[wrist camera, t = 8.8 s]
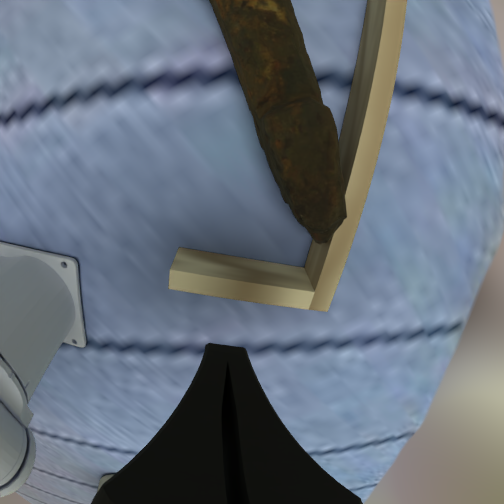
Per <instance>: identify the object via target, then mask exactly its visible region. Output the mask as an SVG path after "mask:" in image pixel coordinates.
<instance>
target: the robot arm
mask: <svg viewBox="0 0 504 504" xmlns="http://www.w3.org/2000/svg"><path fill="white" fill-rule="evenodd" d="M64 262H65V263H66V264H67V266H66V265H65V264H64ZM75 340H76V341H75ZM62 342H64V343H67V344H71V345H74V346H78V347H82V348H83V347H85V345H86V335H85V329H84V321H83V314H82V305H81V296H80V285H79V272H78V263H77V261H76V260H75V259H74V258H72V257H67V256H62V255H57V254H53V253H48V252H43V251H39V250H34V249H30V248H26V247H21V246H17V245H12V244H8V243H4V242H0V497H3V496H6V495H9V494H11V493H13V492H15V491H16V490H17V489H19V488H20V487H21V486H22V485H23V484H24V483H25V482H26V480H27V479H28V477H29V475H30V473H31V471H32V468H33V465H34V461H35V456H36V442H35V438H34V435H33V433H32V431H31V430H30V428H29V427H28V426H29V423H30V421H31V419H32V417H33V413H32V412H31V410H30V409H29V407H28V405H27V404H28V403H29V401H30V399H31V397H32V395H33V393H34V391H35V389H36V387H37V386H38V384H39V382H40V380H41V378H42V377H43V375H44V373H45V371H46V369H47V368H48V366H49V364H50V362H51V361H52V359H53V357H54V356H55V354H56V352H57V351H58V349H59V347H60V346H61V344H62ZM91 504H363V503H362V501H361V498H359V497H358V496H356V495H355V494H354V493H352V492H351V491H349V490H348V489H347V488H345V487H344V486H343V485H341V484H340V483H339V482H337V481H336V480H335V479H334V478H333V477H331V476H330V475H329V474H328V473H327V472H326V471H325V470H323V469H322V468H321V467H320V466H319V465H318V464H317V463H316V462H315V461H314V460H313V459H312V458H311V457H310V456H309V455H308V453H307V452H306V451H305V450H304V449H303V448H302V447H301V446H300V445H299V443H298V442H297V441H296V440H295V439H294V437H293V436H292V435H291V433H290V432H289V431H288V430H287V428H286V427H285V425H284V424H283V423H282V421H281V420H280V418H279V417H278V415H277V413H276V412H275V410H274V409H273V407H272V405H271V404H270V402H269V400H268V398H267V396H266V395H265V393H264V391H263V389H262V387H261V385H260V383H259V381H258V379H257V377H256V374H255V372H254V370H253V367H252V365H251V362H250V360H249V357H248V354H247V351H246V349H245V348H243V347H235V346H227V345H220V344H213V343H208V344H207V345H206V346H205V352H204V355H203V358H202V361H201V364H200V366H199V368H198V371H197V373H196V375H195V377H194V379H193V381H192V383H191V385H190V386H189V388H188V390H187V391H186V393H185V395H184V396H183V398H182V400H181V401H180V403H179V404H178V406H177V407H176V409H175V410H174V412H173V413H172V415H171V416H170V417H169V419H168V420H167V421H166V423H165V424H164V425H163V426H162V428H161V429H160V430H159V431H158V432H157V434H156V435H155V436H154V437H153V438H152V440H151V441H150V442H149V443H148V444H147V445H146V446H145V447H144V448H143V449H142V450H141V451H140V452H139V453H138V454H137V455H136V456H135V457H134V458H133V459H132V460H131V461H130V462H129V463H128V464H127V465H125V466H124V467H123V468H122V469H121V470H120V471H118V472H117V473H116V474H115V475H113V476H112V477H111V478H110V479H108V480H107V481H106V482H105V483H103V484H102V486H101V487H100V489H99V491H98V492H97V494H96V495H95V497H94V499H93V501H92V503H91Z"/></svg>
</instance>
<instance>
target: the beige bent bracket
mask: <svg viewBox="0 0 504 504" xmlns="http://www.w3.org/2000/svg"><path fill="white" fill-rule="evenodd" d="M406 4H407V0H368V1H367V7H366V13H365V19H364V25H363V30H362V36H361V41H360V47H359V52H358V57H357V62H356V67H355V72H354V77H353V82H352V86H351V91H350V96H349V100H348V105H347V109H346V113H345V118H344V122H343V126H342V130H341V135H340V139H339V151H340V164H341V171H342V174H343V179H344V192H345V201H346V211H347V218H346V219H344V221H343V223H342V225H341V226H340V227H339V228H338V229H337V230H336V231H335V233H334V234H333V235H332V237H331V238H330V240H329V241H328V242H326V243H322V244H318V243H315V241H314V240H312V243H311V247H310V250H309V253H308V257H307V260H306V263H305V267H304V268H303V267H296V266H290V265H284V264H278V263H272V262H266V261H259V260H253V259H247V258H241V257H235V256H229V255H223V254H217V253H211V252H205V251H199V250H193V249H187V248H181V247H179V248H178V251H177V253H176V256H175V258H174V261H173V263H172V266H171V268H170V275H169V287H168V289H173V290H178V291H184V292H190V293H196V294H202V295H209V296H215V297H221V298H228V299H234V300H241V301H248V302H255V303H262V304H269V305H277V306H284V307H292V308H300V309H308V310H317V311H325V312H328V309H329V306H330V304H331V301H332V299H333V296H334V293H335V291H336V288H337V285H338V282H339V280H340V277H341V274H342V271H343V269H344V266H345V263H346V260H347V257H348V254H349V251H350V248H351V245H352V242H353V239H354V236H355V233H356V230H357V227H358V224H359V221H360V217H361V214H362V211H363V208H364V204H365V201H366V198H367V194H368V191H369V187H370V184H371V180H372V177H373V173H374V169H375V166H376V162H377V158H378V154H379V150H380V146H381V142H382V138H383V134H384V130H385V126H386V121H387V117H388V112H389V108H390V103H391V98H392V94H393V89H394V83H395V78H396V73H397V67H398V61H399V56H400V49H401V43H402V36H403V29H404V21H405V13H406Z"/></svg>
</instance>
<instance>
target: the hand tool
mask: <svg viewBox="0 0 504 504" xmlns="http://www.w3.org/2000/svg"><path fill="white" fill-rule="evenodd" d="M209 1H210V3H211V5H212V7H213V10H214V13H215V15H216V17H217V20H218V23H219V25H220V28H221V30H222V33H223V35H224V38H225V41H226V43H227V46H228V49H229V51H230V54H231V56H232V59H233V63H234V66H235V69H236V72H237V75H238V77H239V80H240V83H241V86H242V89H243V91H244V94H245V97H246V101H247V103H248V106H249V110H250V111H251V113H252V116H253V119H254V123H255V127H256V131H257V135H258V138H259V141H260V144H261V147H262V148H263V150H264V152H265V154H266V158H267V161H268V164H269V167H270V169H271V171H272V173H273V176H274V178H275V181H276V183H277V184H278V186H279V188H280V191H281V194H282V197H283V199H284V201H285V203H287V204H289V206H290V208H291V210H292V213H293V215H294V217H295V218H296V219H297V221H298V222H299V223H300V224H301V225H302V226H304V227H305V228H306V229H307V230H308V232H309V233H310V235H311V236H312V238H313V240H314V241H315V243H318V244H322V243H326V242H328V241H329V240H330V238H331V237H332V235H333V234H334V233H335V231H336V230H337V229H338V228H339V227H340V226H341V225H342V223H343V221H344V219H346V218H347V211H346V201H345V192H344V179H343V174H342V171H341V164H340V151H339V142H338V134H337V128H336V124H335V121H334V118H333V115H332V113H331V110H330V108H329V107H327V106H325V105H323V101H322V97H321V91H320V88H319V85H318V82H317V79H316V76H315V73H314V71H313V68H312V65H311V61H310V58H309V56H308V54H307V52H306V48H305V44H304V39H303V35H302V32H301V30H300V27H299V25H298V22H297V19H296V16H295V13H294V9H293V6H292V3H291V0H209Z"/></svg>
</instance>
